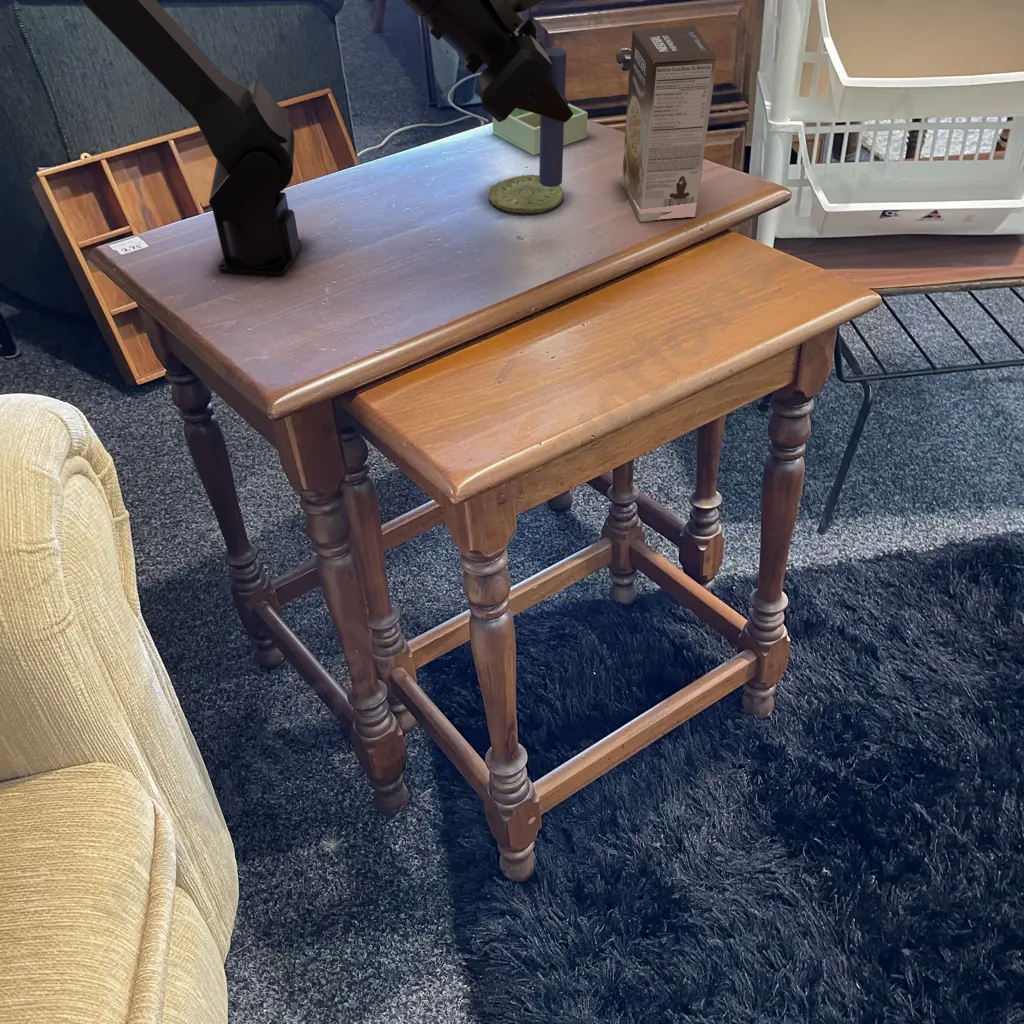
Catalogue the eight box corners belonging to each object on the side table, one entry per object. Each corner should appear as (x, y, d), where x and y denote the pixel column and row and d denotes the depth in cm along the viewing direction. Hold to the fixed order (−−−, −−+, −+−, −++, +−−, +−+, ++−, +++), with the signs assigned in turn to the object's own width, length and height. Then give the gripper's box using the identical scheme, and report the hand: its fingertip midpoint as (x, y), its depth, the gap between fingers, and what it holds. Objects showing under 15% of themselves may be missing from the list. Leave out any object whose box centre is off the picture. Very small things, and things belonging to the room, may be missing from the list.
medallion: (578, 194, 105) (578, 188, 105) (530, 221, 101) (530, 214, 100) (521, 173, 109) (521, 167, 109) (473, 198, 105) (472, 192, 104)
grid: (533, 155, 113) (533, 129, 111) (492, 133, 118) (492, 108, 115) (586, 137, 116) (587, 112, 114) (545, 116, 121) (545, 92, 119)
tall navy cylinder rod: (537, 186, 94) (539, 55, 86) (540, 176, 96) (542, 46, 88) (560, 187, 94) (565, 56, 86) (563, 177, 96) (567, 48, 87)
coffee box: (619, 184, 107) (629, 27, 96) (676, 180, 108) (693, 23, 97) (638, 223, 101) (652, 60, 90) (699, 219, 101) (720, 56, 90)
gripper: (525, -64, 72) (658, 83, 80) (494, -120, 85) (611, 11, 94) (424, 54, 76) (560, 181, 85) (410, -17, 90) (528, 99, 99)
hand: (567, 112), depth 91 cm, fingers closed on tall navy cylinder rod, 2 cm apart
